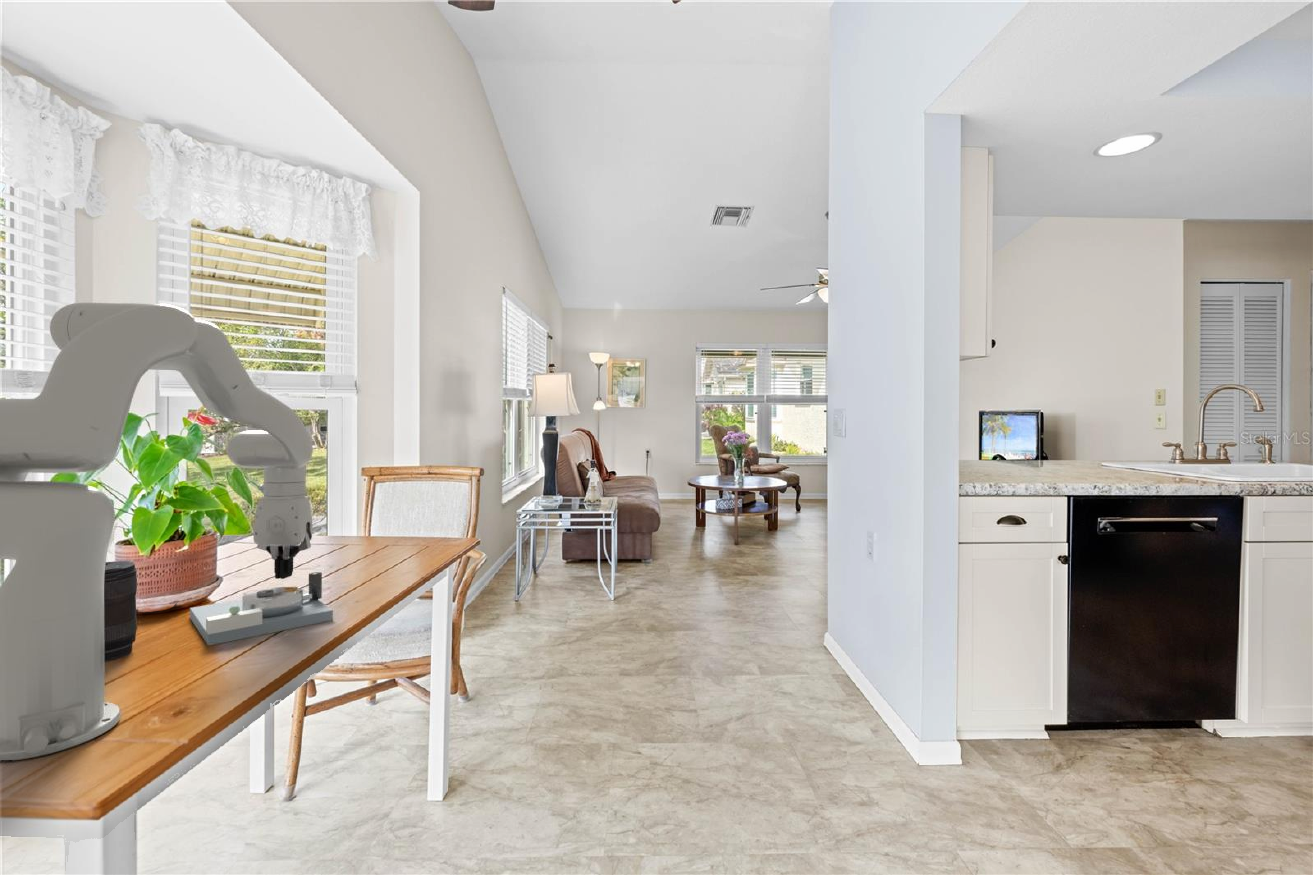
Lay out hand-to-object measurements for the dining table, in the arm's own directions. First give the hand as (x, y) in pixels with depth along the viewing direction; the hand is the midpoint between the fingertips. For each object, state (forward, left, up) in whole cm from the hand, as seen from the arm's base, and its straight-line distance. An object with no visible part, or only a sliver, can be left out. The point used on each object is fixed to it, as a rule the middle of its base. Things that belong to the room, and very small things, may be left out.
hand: (283, 577), depth 125 cm
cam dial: (-7, +1, -4) cm, 8 cm away
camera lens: (-9, +28, -7) cm, 30 cm away
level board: (-5, +5, -7) cm, 10 cm away
